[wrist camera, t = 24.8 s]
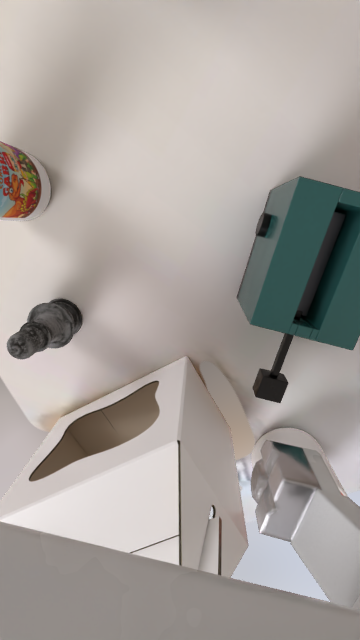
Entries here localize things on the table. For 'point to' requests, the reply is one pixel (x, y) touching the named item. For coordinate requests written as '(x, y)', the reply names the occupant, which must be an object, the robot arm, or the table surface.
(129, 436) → the gable box
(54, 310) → the chess piece
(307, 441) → the cup
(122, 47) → the table surface
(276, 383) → the carriage
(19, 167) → the milk bottle
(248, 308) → the toaster
